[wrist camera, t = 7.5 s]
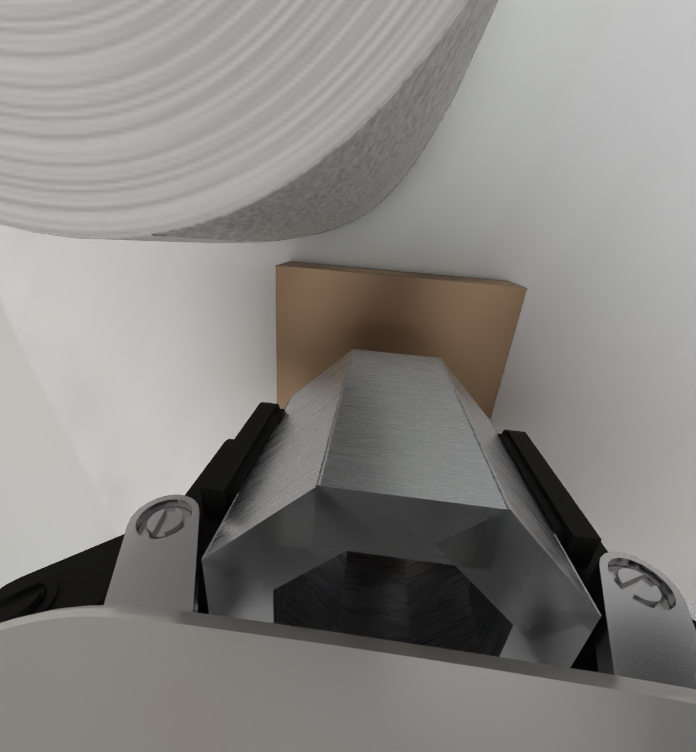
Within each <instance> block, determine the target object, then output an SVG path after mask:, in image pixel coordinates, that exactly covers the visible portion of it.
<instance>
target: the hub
mask: <svg viewBox="0 0 696 752" xmlns="http://www.w3.org/2000/svg"><path fill="white" fill-rule="evenodd" d="M201 561H202V566H203V573H204V581H205V588H206V595H207V602H208V609H209V614H211V615H219V616H227V617H233V618H240V619H247V620H254V621H261V622H268V623H275V624H282V625H289V626H296V627H303V628H310V629H317V630H323V631H330V632H337V633H344V634H351V635H357V636H364V637H371V638H377V639H384V640H391V641H397V642H404V643H411V644H417V645H424V646H431V647H437V648H444V649H450V650H457V651H464V652H470V653H477V654H483V655H490V656H496V657H503V658H509V659H515V660H522V661H528V662H535V663H541V664H547V665H554V666H560V667H567V668H571V666H572V664H573V662H574V661H575V659H576V657H577V656H578V654H579V652H580V651H581V649H582V647H583V646H584V644H585V642H586V641H587V639H588V637H589V636H590V634H591V632H592V631H593V629H594V627H595V626H596V624H597V622H598V621H599V619H600V618H601V614H600V612H599V610H598V609H597V607H596V605H595V603H594V602H593V600H592V598H591V596H590V594H589V593H588V591H587V589H586V587H585V586H584V584H583V582H582V580H581V579H580V577H579V575H578V573H577V572H576V570H575V568H574V566H573V565H572V563H571V561H570V559H569V558H568V556H567V554H566V552H565V551H564V549H563V547H562V545H561V544H560V542H559V540H558V538H557V537H556V535H555V534H554V532H553V531H552V529H551V527H550V525H549V524H548V522H547V520H546V518H545V517H544V515H543V513H542V511H541V509H540V508H539V506H538V504H537V502H536V501H535V499H534V497H533V495H532V494H531V492H530V490H529V488H528V486H527V485H526V483H525V481H524V479H523V478H522V476H521V474H520V472H519V471H518V469H517V467H516V465H515V464H514V462H513V460H512V458H511V456H510V455H509V453H508V451H507V449H506V448H505V446H504V444H503V442H502V441H501V439H500V437H499V435H498V433H497V431H496V429H495V428H494V426H493V424H492V422H491V421H490V419H489V418H488V417H487V416H486V415H485V413H484V412H483V411H482V410H481V408H480V407H479V406H478V405H477V403H476V402H475V401H474V400H473V398H472V397H471V396H470V394H469V393H468V392H467V391H466V389H465V388H464V387H463V386H462V384H461V383H460V382H459V381H458V379H457V378H456V377H455V376H454V374H453V373H452V372H451V370H450V369H449V368H448V367H447V365H446V364H445V363H444V362H443V360H442V358H435V357H425V356H415V355H406V354H396V353H386V352H377V351H367V350H357V349H352V350H351V351H349V352H348V353H347V354H346V355H344V356H343V357H342V358H341V359H339V360H338V361H337V362H335V363H334V364H333V365H332V366H330V367H329V368H328V369H327V370H325V371H324V372H323V373H321V374H320V375H319V376H318V377H316V378H315V379H314V380H312V381H311V382H310V383H309V384H307V385H306V386H305V387H304V388H302V389H301V390H300V391H298V392H297V393H296V394H295V395H293V396H292V397H291V398H290V400H289V401H288V403H287V405H286V407H285V409H284V411H283V413H282V415H281V417H280V419H279V420H278V422H277V424H276V426H275V428H274V430H273V431H272V433H271V435H270V437H269V439H268V440H267V442H266V444H265V446H264V448H263V450H262V451H261V453H260V455H259V457H258V459H257V460H256V462H255V464H254V466H253V468H252V470H251V471H250V473H249V475H248V477H247V479H246V480H245V482H244V484H243V486H242V488H241V490H240V491H239V493H238V494H237V496H236V497H235V499H234V501H233V503H232V505H231V506H230V508H229V510H228V512H227V514H226V515H225V517H224V519H223V521H222V523H221V524H220V526H219V528H218V530H217V532H216V534H215V535H214V537H213V539H212V541H211V543H210V544H209V546H208V548H207V550H206V552H205V553H204V555H203V557H202V559H201Z"/></svg>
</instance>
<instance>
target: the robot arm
mask: <svg viewBox="0 0 696 752" xmlns="http://www.w3.org/2000/svg"><path fill="white" fill-rule="evenodd" d="M283 411H284V409H280V406H279V404H273V403H264V402H261V403H260V404H259V405H258V407H257V408H256V410H255V411H254V412H253V414H252V415H251V417H250V418H249V419H248V421H247V422H246V424H245V425H244V426H243V428H242V429H241V431H240V432H239V433H238V435H237V436H236V438H235V439H228V440H226V441H225V442H224V444H223V445H222V446H221V448H220V449H219V450H218V452H217V453H216V454H215V456H214V457H213V458H212V460H211V461H210V462H209V464H208V465H207V466H206V468H205V469H204V470H203V472H202V473H201V474H200V476H199V477H198V478H197V480H196V481H195V483H194V484H193V485H192V487H191V488H190V489H189V491H188V492H187V493H186V495H185V496H184V495H168V496H164V497H160V498H157V499H155V500H153V501H151V502H148V503H147V504H145V505H144V506H142V507H141V508H140V509H138V510H137V511H136V513H135V514H134V515H133V516H132V517H131V519H130V521H129V523H128V525H127V528H126V532H125V534H124V535H121V536H119V537H116V538H114V539H112V540H109V541H107V542H104V543H102V544H100V545H97V546H95V547H92V548H90V549H88V550H85V551H83V552H80V553H78V554H76V555H73V556H71V557H68V558H66V559H64V560H61V561H59V562H56V563H54V564H51V565H49V566H47V567H44V568H42V569H40V570H37V571H35V572H32V573H30V574H27V575H25V576H23V577H20V578H18V579H16V580H14V581H13V582H11V583H9V584H7V585H5V586H4V587H2V588H1V589H0V752H696V621H694V620H693V619H692V618H691V616H690V613H689V610H688V608H687V605H686V602H685V600H684V598H683V596H682V594H681V593H680V591H679V590H678V589H677V587H676V586H675V585H674V584H673V583H672V582H671V580H669V579H668V578H667V577H666V576H665V575H664V574H662V573H661V572H660V571H659V570H657V569H656V568H654V567H653V566H651V565H650V564H648V563H647V562H644V561H642V560H640V559H638V558H636V557H634V556H631V555H628V554H625V553H620V552H609V553H608V551H607V550H606V549H605V547H604V546H603V544H602V543H601V538H600V537H599V535H598V534H597V533H596V531H595V530H594V528H593V527H592V525H591V524H590V523H589V521H588V520H587V518H586V517H585V516H584V514H583V513H582V511H581V510H580V509H579V507H578V506H577V504H576V503H575V501H574V500H573V499H572V497H571V496H570V494H569V493H568V492H567V490H566V489H565V487H564V486H563V485H562V483H561V482H560V480H559V479H558V478H557V476H556V475H555V473H554V472H553V470H552V469H551V468H550V466H549V465H548V463H547V462H546V461H545V459H544V458H543V456H542V455H541V454H540V452H539V451H538V449H537V448H536V446H535V445H534V444H533V442H532V441H531V439H530V438H529V437H528V435H527V434H526V433H525V432H520V431H511V430H504V431H503V432H502V434H498V435H499V437H500V439H501V441H502V442H503V444H504V446H505V448H506V449H507V451H508V453H509V455H510V456H511V458H512V460H513V462H514V464H515V465H516V467H517V469H518V471H519V472H520V474H521V476H522V478H523V479H524V481H525V483H526V485H527V486H528V488H529V490H530V492H531V494H532V495H533V497H534V499H535V501H536V502H537V504H538V506H539V508H540V509H541V511H542V513H543V515H544V517H545V518H546V520H547V522H548V524H549V525H550V527H551V529H552V531H553V532H554V534H555V535H556V537H557V538H558V540H559V542H560V544H561V545H562V547H563V549H564V551H565V552H566V554H567V556H568V558H569V559H570V561H571V563H572V565H573V566H574V568H575V570H576V572H577V573H578V575H579V577H580V579H581V580H582V582H583V584H584V586H585V587H586V589H587V591H588V593H589V594H590V596H591V598H592V600H593V602H594V603H595V605H596V607H597V609H598V610H599V612H600V614H601V618H600V619H599V621H598V622H597V624H596V626H595V627H594V629H593V631H592V632H591V634H590V636H589V637H588V639H587V641H586V642H585V644H584V646H583V647H582V649H581V651H580V652H579V654H578V656H577V657H576V659H575V661H574V662H573V664H572V666H571V668H567V667H560V666H554V665H547V664H541V663H535V662H528V661H522V660H515V659H509V658H503V657H496V656H490V655H483V654H477V653H470V652H464V651H457V650H450V649H444V648H437V647H431V646H424V645H417V644H411V643H404V642H397V641H391V640H384V639H377V638H371V637H364V636H357V635H351V634H344V633H337V632H330V631H323V630H317V629H310V628H303V627H296V626H289V625H282V624H275V623H268V622H261V621H254V620H247V619H240V618H233V617H227V616H219V615H211V614H209V609H208V602H207V595H206V588H205V581H204V573H203V566H202V561H201V559H202V557H203V555H204V553H205V552H206V550H207V548H208V546H209V544H210V543H211V541H212V539H213V537H214V535H215V534H216V532H217V530H218V528H219V526H220V524H221V523H222V521H223V519H224V517H225V515H226V514H227V512H228V510H229V508H230V506H231V505H232V503H233V501H234V499H235V497H236V496H237V494H238V493H239V491H240V490H241V488H242V486H243V484H244V482H245V480H246V479H247V477H248V475H249V473H250V471H251V470H252V468H253V466H254V464H255V462H256V460H257V459H258V457H259V455H260V453H261V451H262V450H263V448H264V446H265V444H266V442H267V440H268V439H269V437H270V435H271V433H272V431H273V430H274V428H275V426H276V424H277V422H278V420H279V419H280V417H281V415H282V413H283Z"/></svg>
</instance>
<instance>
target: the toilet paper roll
mask: <svg viewBox="0 0 696 752" xmlns="http://www.w3.org/2000/svg"><path fill="white" fill-rule="evenodd" d="M497 2H498V0H0V224H1V225H5V226H9V227H13V228H17V229H22V230H26V231H30V232H34V233H41V234H48V235H56V236H63V237H70V238H85V239H113V240H140V241H168V242H198V243H244V242H269V241H280V240H286V239H292V238H298V237H303V236H308V235H314V234H318V233H321V232H324V231H328V230H331V229H334V228H337V227H340V226H342V225H345V224H347V223H349V222H351V221H353V220H355V219H357V218H359V217H360V216H362V215H364V214H365V213H367V212H368V211H369V210H371V209H372V208H374V207H375V206H376V205H377V204H378V203H380V202H381V201H382V200H383V199H384V198H385V197H386V196H387V195H388V194H389V193H390V192H391V191H392V190H393V189H394V188H395V187H396V186H397V185H398V183H399V182H400V181H401V180H402V178H403V177H404V176H405V175H406V173H407V172H408V171H409V169H410V168H411V167H412V165H413V164H414V163H415V161H416V160H417V158H418V157H419V155H420V154H421V152H422V151H423V149H424V148H425V146H426V144H427V143H428V141H429V139H430V138H431V136H432V134H433V133H434V131H435V129H436V128H437V126H438V125H439V123H440V121H441V119H442V118H443V116H444V114H445V112H446V110H447V109H448V107H449V105H450V103H451V101H452V100H453V98H454V96H455V94H456V92H457V90H458V87H459V85H460V83H461V81H462V79H463V76H464V74H465V72H466V70H467V68H468V66H469V63H470V61H471V59H472V57H473V55H474V52H475V50H476V48H477V46H478V44H479V41H480V39H481V37H482V35H483V33H484V31H485V28H486V26H487V24H488V22H489V20H490V17H491V15H492V13H493V11H494V9H495V6H496V4H497Z"/></svg>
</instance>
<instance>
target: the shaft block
mask: <svg viewBox="0 0 696 752" xmlns="http://www.w3.org/2000/svg"><path fill="white" fill-rule="evenodd" d="M526 290H527V288H525V287H522V286H520V285H517V284H515V283H512V282H510V281H499V280H488V279H476V278H465V277H454V276H443V275H432V274H421V273H409V272H398V271H387V270H376V269H365V268H353V267H342V266H331V265H320V264H309V263H298V262H286V263H283V264H279V265H276V336H277V404H279V406H280V409H285V407H286V405H287V403H288V401H289V400H290V398H291V397H292V396H293V395H295V394H296V393H297V392H298V391H300V390H301V389H302V388H304V387H305V386H306V385H307V384H309V383H310V382H311V381H312V380H314V379H315V378H316V377H318V376H319V375H320V374H321V373H323V372H324V371H325V370H327V369H328V368H329V367H330V366H332V365H333V364H334V363H335V362H337V361H338V360H339V359H341V358H342V357H343V356H344V355H346V354H347V353H348V352H349V351H351V350H352V349H357V350H367V351H377V352H386V353H396V354H406V355H415V356H425V357H435V358H442V360H443V362H444V363H445V364H446V365H447V367H448V368H449V369H450V370H451V372H452V373H453V374H454V376H455V377H456V378H457V379H458V381H459V382H460V383H461V384H462V386H463V387H464V388H465V389H466V391H467V392H468V393H469V394H470V396H471V397H472V398H473V400H474V401H475V402H476V403H477V405H478V406H479V407H480V408H481V410H482V411H483V412H484V413H485V415H486V416H487V417H488V418H489V419H490V418H491V414H492V411H493V407H494V404H495V400H496V397H497V393H498V389H499V386H500V382H501V379H502V375H503V372H504V368H505V365H506V361H507V357H508V354H509V350H510V347H511V343H512V340H513V336H514V333H515V329H516V326H517V322H518V318H519V315H520V311H521V308H522V304H523V301H524V297H525V294H526Z"/></svg>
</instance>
